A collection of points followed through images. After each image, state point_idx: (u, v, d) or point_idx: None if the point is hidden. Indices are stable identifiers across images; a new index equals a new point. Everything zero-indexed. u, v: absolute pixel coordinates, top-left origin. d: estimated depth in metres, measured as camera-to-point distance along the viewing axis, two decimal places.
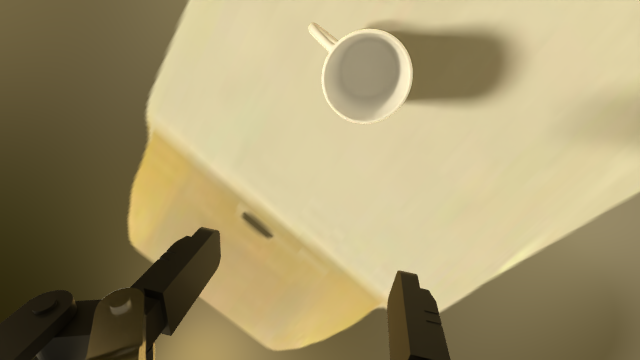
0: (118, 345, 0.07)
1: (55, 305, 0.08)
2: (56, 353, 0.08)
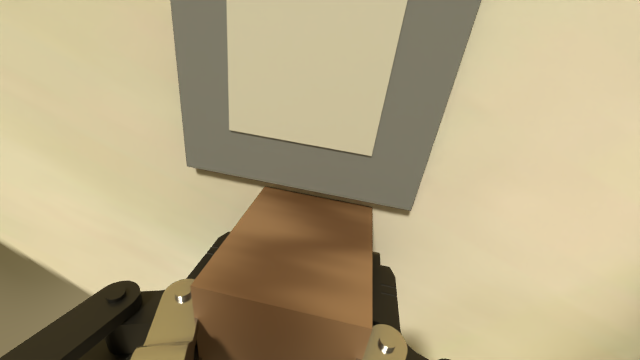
0: (173, 334, 0.08)
1: (125, 295, 0.09)
2: (118, 341, 0.08)
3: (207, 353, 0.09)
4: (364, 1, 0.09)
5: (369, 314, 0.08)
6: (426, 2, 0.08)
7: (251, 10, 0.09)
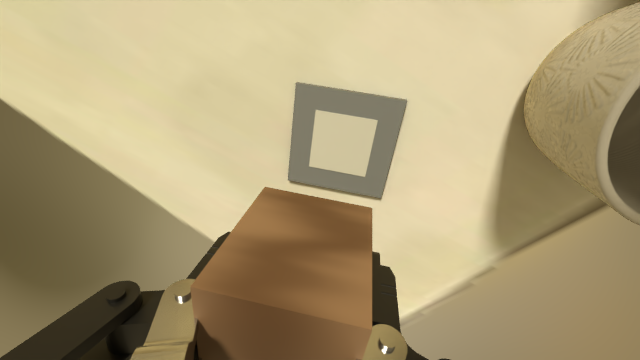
0: (173, 334, 0.08)
1: (125, 295, 0.09)
2: (118, 341, 0.08)
3: (207, 354, 0.09)
4: (362, 127, 0.26)
5: (369, 315, 0.08)
6: (382, 128, 0.26)
7: (322, 127, 0.27)
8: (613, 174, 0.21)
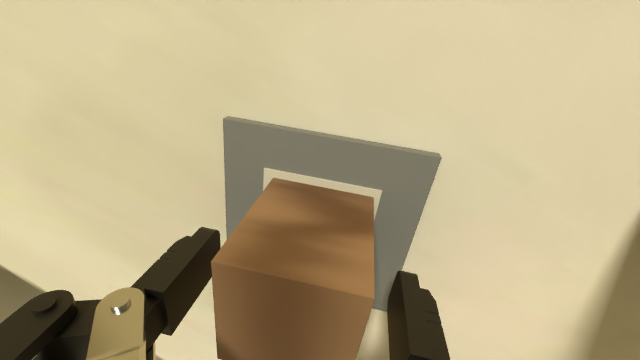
0: (118, 345, 0.07)
1: (55, 305, 0.08)
2: (56, 353, 0.08)
3: (223, 326, 0.10)
4: None
5: (371, 287, 0.08)
6: (390, 204, 0.13)
7: None
8: None
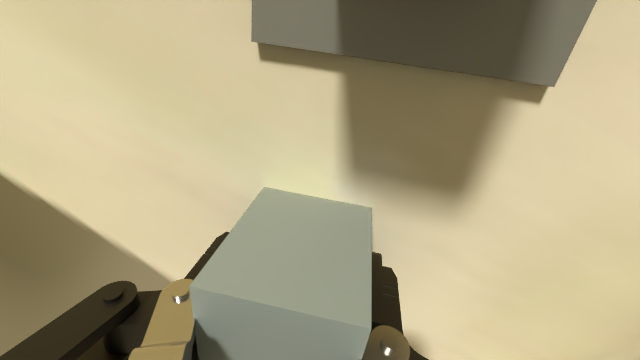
0: (170, 334, 0.08)
1: (122, 295, 0.09)
2: (115, 342, 0.08)
3: None
4: None
5: None
6: None
7: None
8: None
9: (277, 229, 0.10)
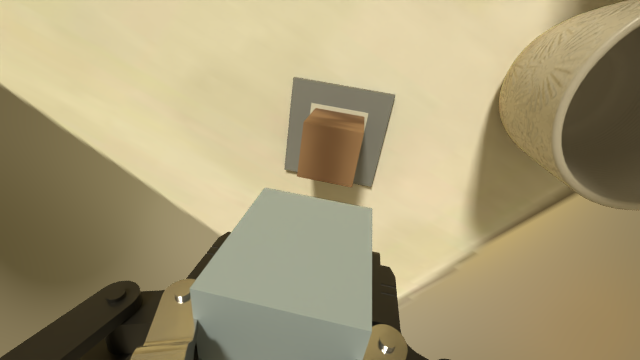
0: (173, 334, 0.08)
1: (125, 295, 0.09)
2: (118, 341, 0.08)
3: (303, 156, 0.24)
4: None
5: (363, 131, 0.23)
6: (372, 120, 0.28)
7: None
8: (576, 162, 0.23)
9: (277, 230, 0.10)
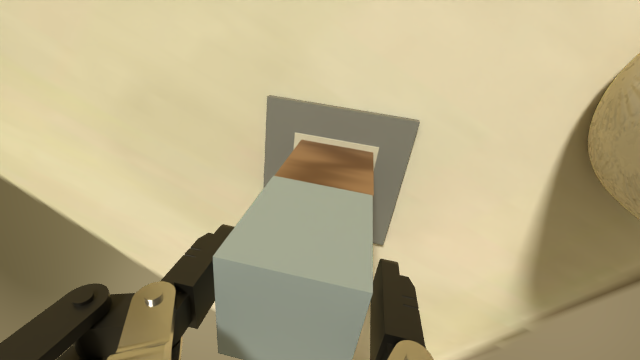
0: (147, 337, 0.08)
1: (93, 298, 0.08)
2: (89, 345, 0.08)
3: None
4: None
5: (372, 190, 0.14)
6: (385, 157, 0.19)
7: None
8: None
9: (286, 212, 0.11)
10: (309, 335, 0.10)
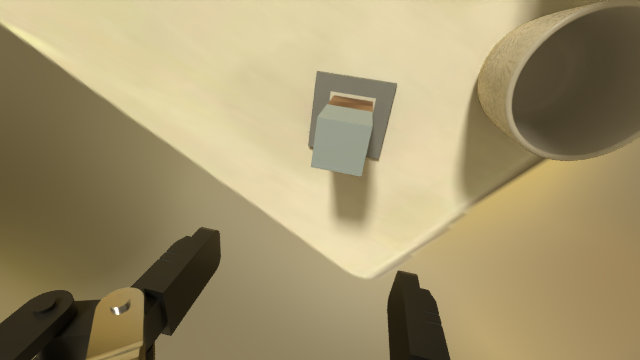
0: (118, 345, 0.07)
1: (55, 305, 0.08)
2: (56, 353, 0.08)
3: None
4: None
5: (372, 110, 0.30)
6: (379, 104, 0.35)
7: None
8: (535, 132, 0.30)
9: (337, 112, 0.28)
10: (349, 150, 0.26)
